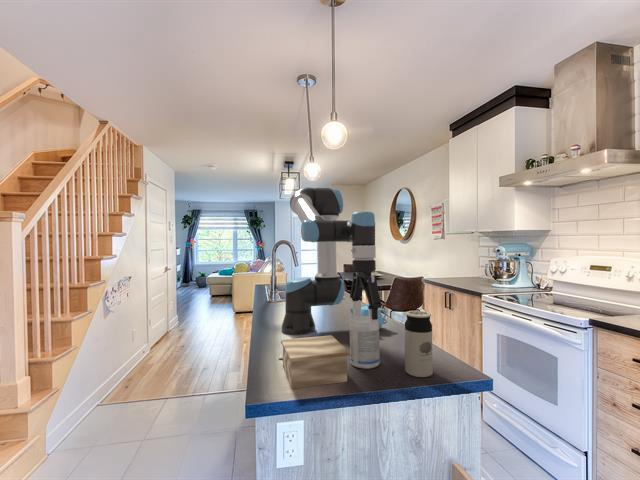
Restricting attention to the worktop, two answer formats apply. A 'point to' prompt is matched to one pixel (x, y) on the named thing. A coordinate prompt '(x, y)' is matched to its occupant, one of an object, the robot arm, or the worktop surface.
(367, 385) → the worktop surface
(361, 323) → the supplement tub
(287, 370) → the wooden block
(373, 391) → the worktop surface
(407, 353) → the travel mug
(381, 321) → the teapot
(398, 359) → the worktop surface
